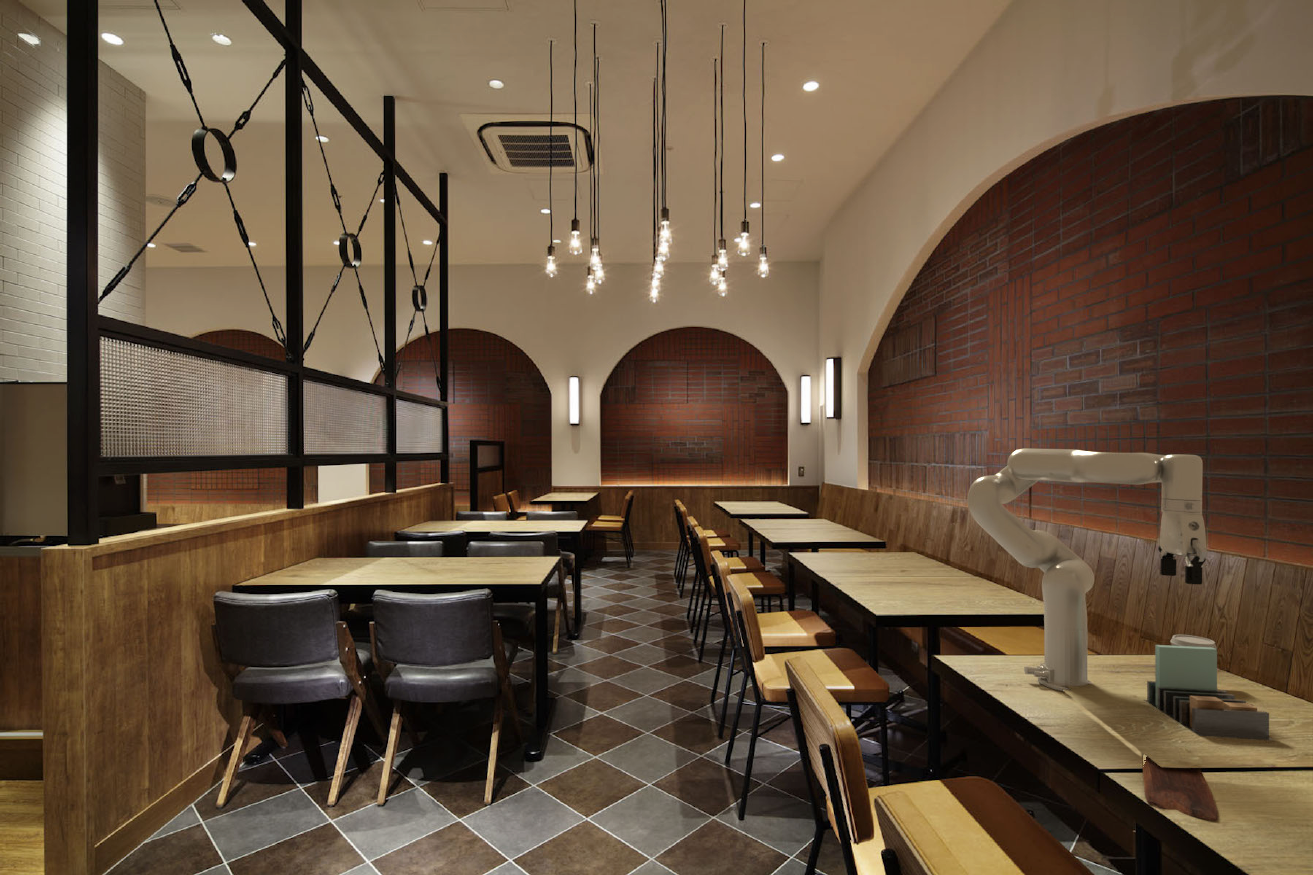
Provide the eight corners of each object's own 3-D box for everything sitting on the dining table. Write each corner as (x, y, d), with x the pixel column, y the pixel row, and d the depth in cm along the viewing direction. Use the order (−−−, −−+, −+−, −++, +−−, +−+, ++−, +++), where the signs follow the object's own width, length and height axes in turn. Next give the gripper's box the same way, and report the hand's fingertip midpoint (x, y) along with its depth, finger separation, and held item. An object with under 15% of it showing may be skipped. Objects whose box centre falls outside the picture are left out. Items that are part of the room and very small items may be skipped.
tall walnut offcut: (1197, 730, 141) (1197, 699, 141) (1189, 725, 143) (1189, 695, 143) (1223, 732, 140) (1223, 701, 140) (1215, 727, 142) (1215, 696, 142)
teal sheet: (1159, 707, 153) (1159, 646, 153) (1155, 704, 155) (1155, 644, 155) (1217, 710, 151) (1216, 649, 152) (1212, 707, 153) (1212, 647, 153)
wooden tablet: (1139, 743, 136) (1202, 750, 130) (1141, 754, 136) (1204, 762, 130) (1144, 800, 114) (1219, 812, 108) (1146, 813, 114) (1221, 826, 108)
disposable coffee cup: (1213, 683, 173) (1213, 637, 173) (1221, 694, 165) (1221, 646, 165) (1167, 676, 178) (1167, 632, 178) (1173, 687, 170) (1173, 640, 170)
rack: (1199, 742, 138) (1199, 711, 138) (1143, 705, 158) (1143, 678, 158) (1274, 747, 136) (1274, 715, 136) (1208, 709, 156) (1208, 681, 156)
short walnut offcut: (1230, 732, 140) (1230, 706, 140) (1222, 727, 142) (1222, 701, 142) (1257, 734, 139) (1257, 707, 139) (1248, 729, 141) (1248, 703, 142)
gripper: (1224, 511, 146) (1223, 588, 146) (1177, 503, 163) (1176, 573, 163) (1186, 510, 148) (1185, 586, 147) (1143, 503, 165) (1142, 571, 165)
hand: (1180, 579), depth 155 cm, fingers open, 9 cm apart
